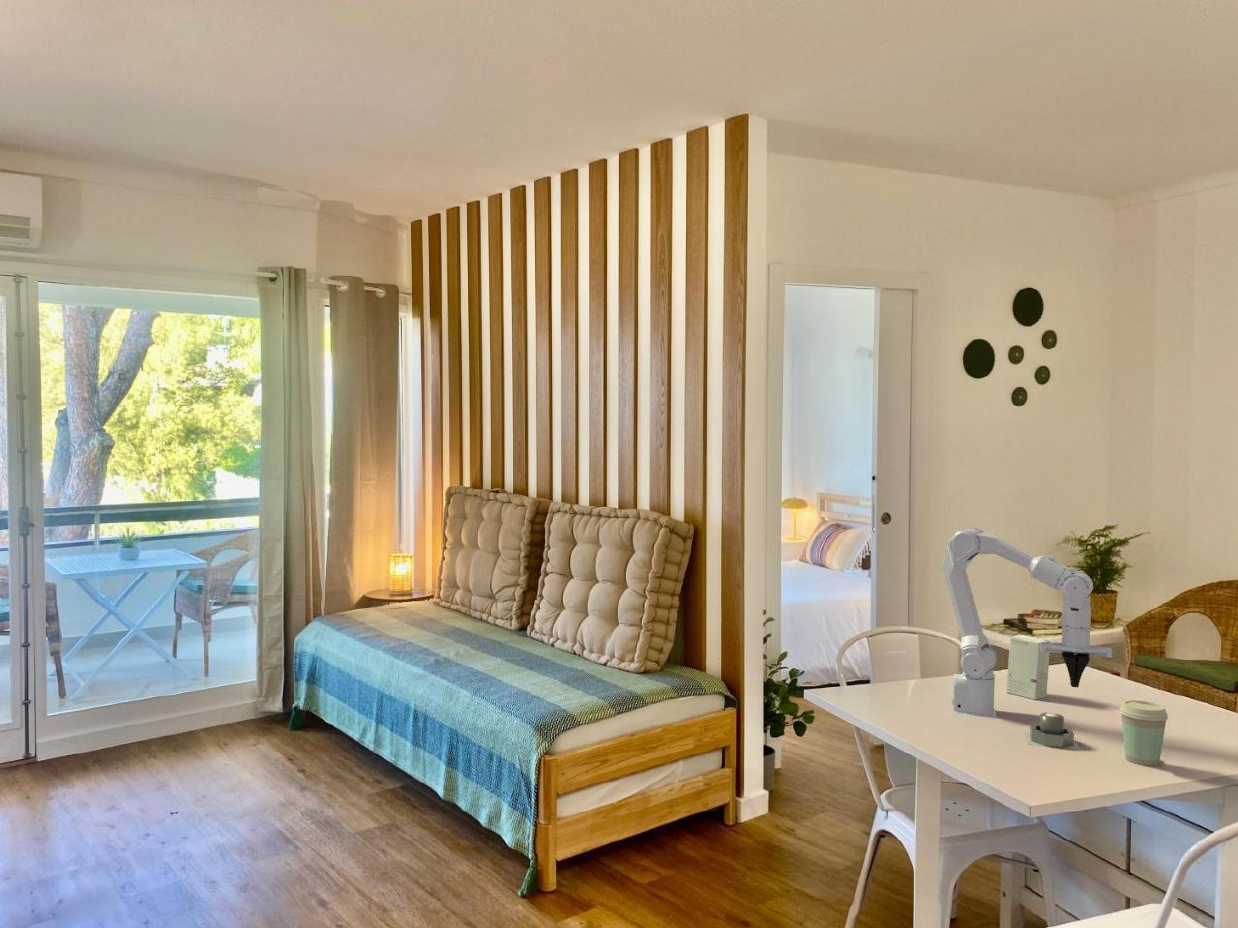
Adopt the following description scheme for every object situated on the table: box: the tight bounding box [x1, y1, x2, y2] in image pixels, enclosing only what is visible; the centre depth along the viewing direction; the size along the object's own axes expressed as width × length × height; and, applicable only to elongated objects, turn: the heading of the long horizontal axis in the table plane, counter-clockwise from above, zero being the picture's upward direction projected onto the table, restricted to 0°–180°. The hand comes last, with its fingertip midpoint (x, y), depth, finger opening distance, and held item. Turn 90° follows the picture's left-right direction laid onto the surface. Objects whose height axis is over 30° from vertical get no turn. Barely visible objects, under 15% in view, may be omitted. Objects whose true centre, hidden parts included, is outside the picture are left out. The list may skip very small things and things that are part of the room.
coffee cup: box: [1119, 699, 1169, 767], centre depth 188 cm, size 8×8×12 cm
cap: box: [1039, 712, 1065, 735], centre depth 200 cm, size 5×5×5 cm
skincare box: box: [1005, 634, 1051, 700], centre depth 239 cm, size 8×6×15 cm
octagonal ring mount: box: [1029, 723, 1075, 749], centre depth 200 cm, size 8×8×2 cm
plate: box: [1024, 732, 1081, 751], centre depth 200 cm, size 10×8×1 cm
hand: (1074, 686), depth 210 cm, fingers closed
